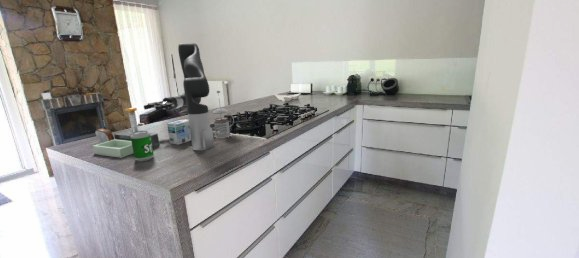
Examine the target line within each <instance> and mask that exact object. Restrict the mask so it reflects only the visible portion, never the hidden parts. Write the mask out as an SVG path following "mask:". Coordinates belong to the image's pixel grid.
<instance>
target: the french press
mask: <svg viewBox="0 0 579 258" xmlns="http://www.w3.org/2000/svg"><path fill="white" fill-rule="evenodd" d="M216 93H217V94H218V95H220V94H221V91H220V90H217V91H216ZM218 103H219V105H221V101H220V99H218ZM228 112H229V110H227V109H225V108H221V107H219V108H217V109H214V110H213V111H212V113H213V114H215V115H216V114H217V115H218V114H219V115H222V114H227V115H228V116H231V118H232V119H233V120H232V124H231V125H230V122H229V121H230V120H228V119H229V118H228V117H224V116H223V117H222V116H220V117H216V118H214V122H213V123H214V132H215V134H214V135H213V138H214V137H216V138H215V139H225V138H224V137H228V138H230V137H229V136H230V135H231V134H232V133H231V130H230V129H231V127H232V126H234V123H235V119H234V118H235V117H234V116H233V115H231V113H228Z"/></svg>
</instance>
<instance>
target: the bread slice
mask: <svg viewBox="0 0 579 258" xmlns="http://www.w3.org/2000/svg"><path fill="white" fill-rule="evenodd" d="M94 133H95V134H94V135H95V137H96V140H97V142H98V144H101V143H104V142H107V141H111V140H114V139H115V136H114V134H113V133H112V131H111V130H110V129H107V128H106V129H105V128H102V127H101V128H99V129H96V130H95V132H94Z"/></svg>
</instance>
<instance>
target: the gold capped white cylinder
mask: <svg viewBox="0 0 579 258" xmlns="http://www.w3.org/2000/svg"><path fill="white" fill-rule="evenodd" d="M137 110H138V109H137V107H129V108H125V112H128V118H129V123H130V127H131V128H130V129H131V131H132V133H134V132H137V131H139V126H138V121H137V116H136V111H137Z"/></svg>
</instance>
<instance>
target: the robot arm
mask: <svg viewBox="0 0 579 258" xmlns="http://www.w3.org/2000/svg"><path fill="white" fill-rule="evenodd" d="M177 46H178V47H177V50H178V51H177V52H178V58H179V62H180V66H181V70H182V73H183V77H184V79H183V84H182V85H183V91H184V92H183V93H182V94H180V95H171V96H166V97H164V98H162V100H161V101H160V100H159V101H155V102H154V101H153V102H150V103H149V102H148V103H147V104H144V105H143V109H144V110H150V109H155V111H160V110H166V111H172V110H176V109H179V108H182V107H186V110H187V117H188V119H187V120H189V127H190V134H191V149H192V151H193V150H194V151H208V150H211V148H213V147H215V143H214V134H213V127H211V123H210V114H209V107H208V105H206V104H202V103H201V102H202V99H203V98H206V97H208V96H209V93H210V85H209V82H208V79H207V77H206V74H205V71H204V70H205V68H204V67H203V66H204V64H203V63H202V59H201V54H200V48H199V46H198V44H197V43H193V42H181V43H179V44H178V45H177Z"/></svg>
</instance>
